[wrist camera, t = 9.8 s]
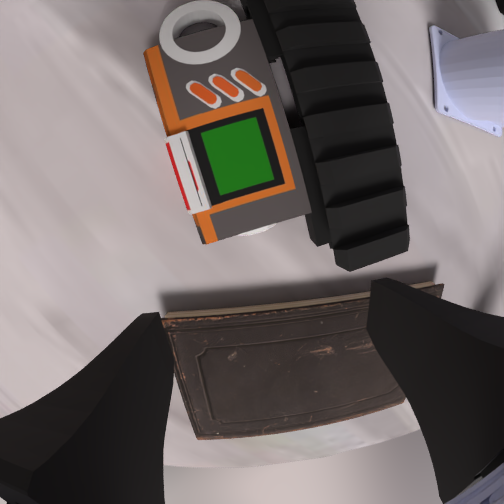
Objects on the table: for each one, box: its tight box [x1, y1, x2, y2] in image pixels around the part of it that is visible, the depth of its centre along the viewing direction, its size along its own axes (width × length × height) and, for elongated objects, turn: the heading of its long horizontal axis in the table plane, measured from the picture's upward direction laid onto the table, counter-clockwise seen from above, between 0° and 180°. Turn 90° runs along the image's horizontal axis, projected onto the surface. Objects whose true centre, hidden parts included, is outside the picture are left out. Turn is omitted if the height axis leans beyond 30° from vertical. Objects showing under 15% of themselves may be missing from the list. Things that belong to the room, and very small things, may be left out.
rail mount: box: [240, 0, 410, 272], centre depth 14 cm, size 21×6×5 cm, turn 16°
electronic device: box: [143, 0, 312, 244], centre depth 15 cm, size 7×3×15 cm
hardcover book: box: [161, 281, 444, 440], centre depth 24 cm, size 16×23×2 cm
